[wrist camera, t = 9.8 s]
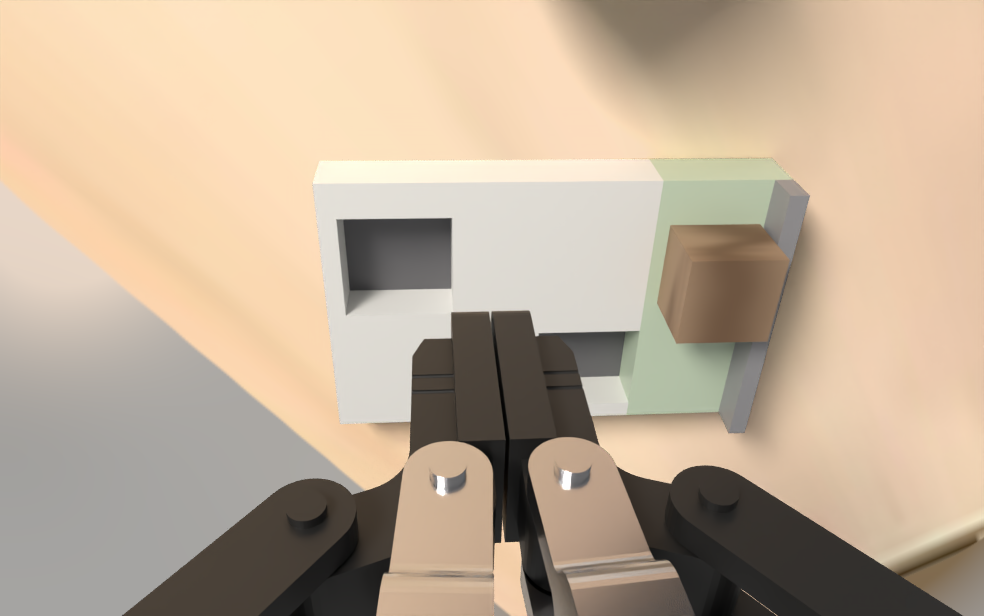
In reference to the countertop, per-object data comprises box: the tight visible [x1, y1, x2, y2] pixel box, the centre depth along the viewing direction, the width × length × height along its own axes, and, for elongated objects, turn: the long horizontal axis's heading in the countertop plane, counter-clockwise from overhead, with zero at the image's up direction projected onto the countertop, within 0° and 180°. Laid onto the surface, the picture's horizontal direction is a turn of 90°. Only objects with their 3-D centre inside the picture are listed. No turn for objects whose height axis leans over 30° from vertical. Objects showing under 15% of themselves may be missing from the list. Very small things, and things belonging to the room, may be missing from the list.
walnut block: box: [657, 224, 790, 344], centre depth 40 cm, size 5×5×4 cm
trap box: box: [313, 158, 810, 433], centre depth 43 cm, size 25×16×5 cm, turn 89°
